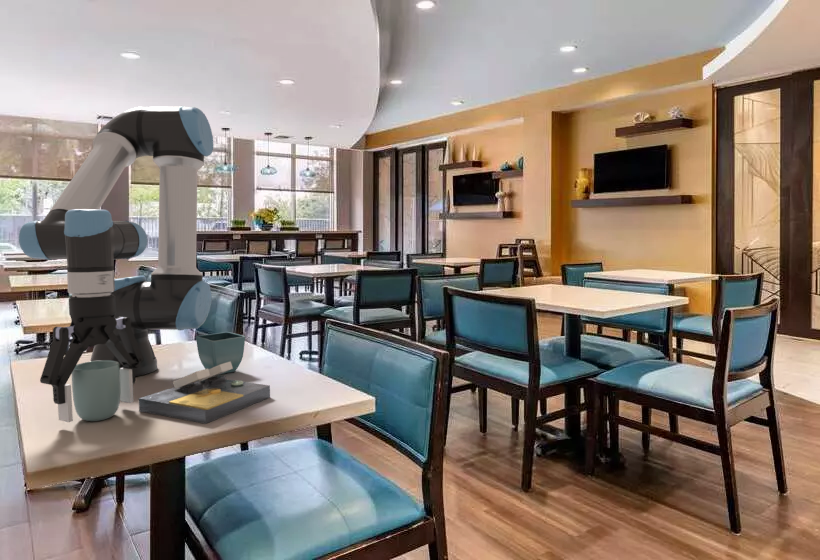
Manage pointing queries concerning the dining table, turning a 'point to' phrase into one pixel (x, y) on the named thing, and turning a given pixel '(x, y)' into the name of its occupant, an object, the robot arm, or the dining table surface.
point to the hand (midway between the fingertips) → (98, 410)
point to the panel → (204, 399)
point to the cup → (96, 389)
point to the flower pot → (220, 349)
